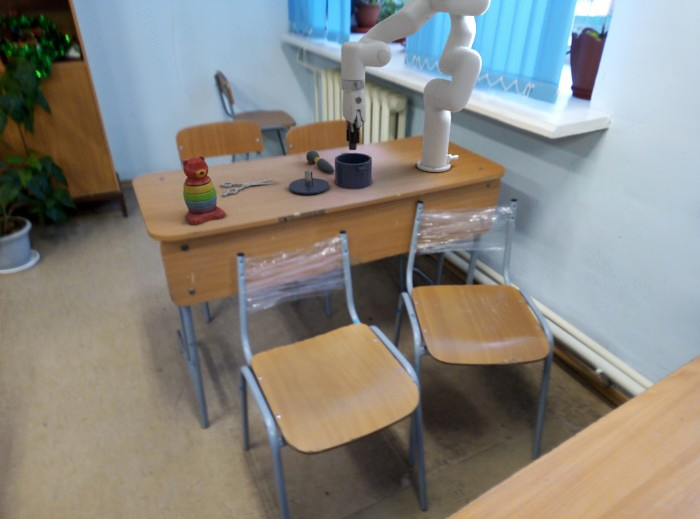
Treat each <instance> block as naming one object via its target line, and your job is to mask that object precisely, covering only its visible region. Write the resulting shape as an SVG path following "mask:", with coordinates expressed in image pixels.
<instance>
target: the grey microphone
mask: <svg viewBox="0 0 700 519" xmlns="http://www.w3.org/2000/svg"><path fill="white" fill-rule="evenodd" d="M305 157H306V162H308V163H309V164H311V165H316V166H317V167H318V169H320V170H322V171H324V172H327V173H330V174H333V173H335V167H333V165H332V164H331V163H330V162H329V161H327V160H326V159H325V158H322V157H320V153H319V152H318V151H316V150H310V151H308V152H307V153H306V156H305Z"/></svg>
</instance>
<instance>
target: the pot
mask: <svg viewBox="0 0 700 519" xmlns="http://www.w3.org/2000/svg"><path fill="white" fill-rule="evenodd" d="M372 163H373V159H372V157H371V156H370V155H368V154H365V153H362V152H361V153H360V152H341V154H338V155H336V156H335V157H334V183H335V185H336V186H338V187H340V188H343V189H349V190H351V189H352V190H353V189H354V190H356V189H363V188H367V187H369V186H370V185H371V184H372V174H373V173H372V170H373V169H372V167H373V166H372V165H373V164H372Z"/></svg>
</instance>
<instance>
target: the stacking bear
mask: <svg viewBox="0 0 700 519" xmlns="http://www.w3.org/2000/svg"><path fill="white" fill-rule="evenodd" d="M205 160H206V159H205V157H204V156H202V155H201V156H198V157H189V158H187V159H184V160H183V161H182V169H183V173H184V175H185V176H186V179H185V180H184V183H183V184H182V185H183V186H182V187H183V189H182V190H183V191H182V196H183V200H184V204H185V205H186V207H187V210H188V211H187V213H186V220H187V222H188V223H189V224H191V225H200V224H203V223H204V222H206V221H210V220H220V219H223V218H224V217H226V212H225V211H224V209H222V208H221V207H219V206H217V204H218V203H217V202H218V201H217V200H218V199H217V198H218V196H217V194H218V193H217V189H216V187H215V185H214V182H213V181H212V178H211V177H210V176H209V175H208V174H209V165H208V164H207V162H206V161H205Z"/></svg>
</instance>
